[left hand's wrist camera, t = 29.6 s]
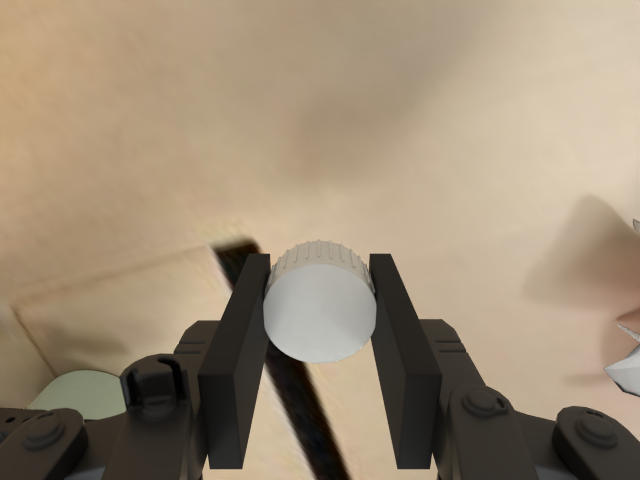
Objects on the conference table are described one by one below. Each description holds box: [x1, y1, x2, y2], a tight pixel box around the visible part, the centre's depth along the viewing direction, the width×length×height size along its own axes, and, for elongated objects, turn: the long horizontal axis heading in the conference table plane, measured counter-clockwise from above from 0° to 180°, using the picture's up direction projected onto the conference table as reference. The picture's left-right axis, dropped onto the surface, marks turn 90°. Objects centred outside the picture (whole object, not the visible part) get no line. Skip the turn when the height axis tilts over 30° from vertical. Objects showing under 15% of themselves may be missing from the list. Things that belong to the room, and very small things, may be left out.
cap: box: [263, 240, 376, 363], centre depth 14 cm, size 4×4×2 cm
